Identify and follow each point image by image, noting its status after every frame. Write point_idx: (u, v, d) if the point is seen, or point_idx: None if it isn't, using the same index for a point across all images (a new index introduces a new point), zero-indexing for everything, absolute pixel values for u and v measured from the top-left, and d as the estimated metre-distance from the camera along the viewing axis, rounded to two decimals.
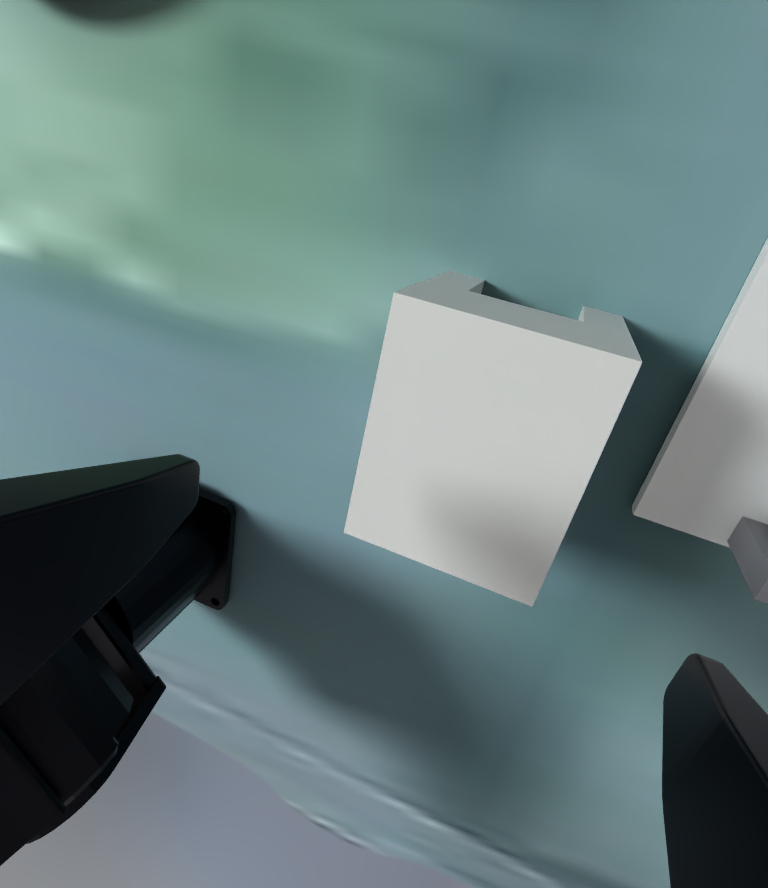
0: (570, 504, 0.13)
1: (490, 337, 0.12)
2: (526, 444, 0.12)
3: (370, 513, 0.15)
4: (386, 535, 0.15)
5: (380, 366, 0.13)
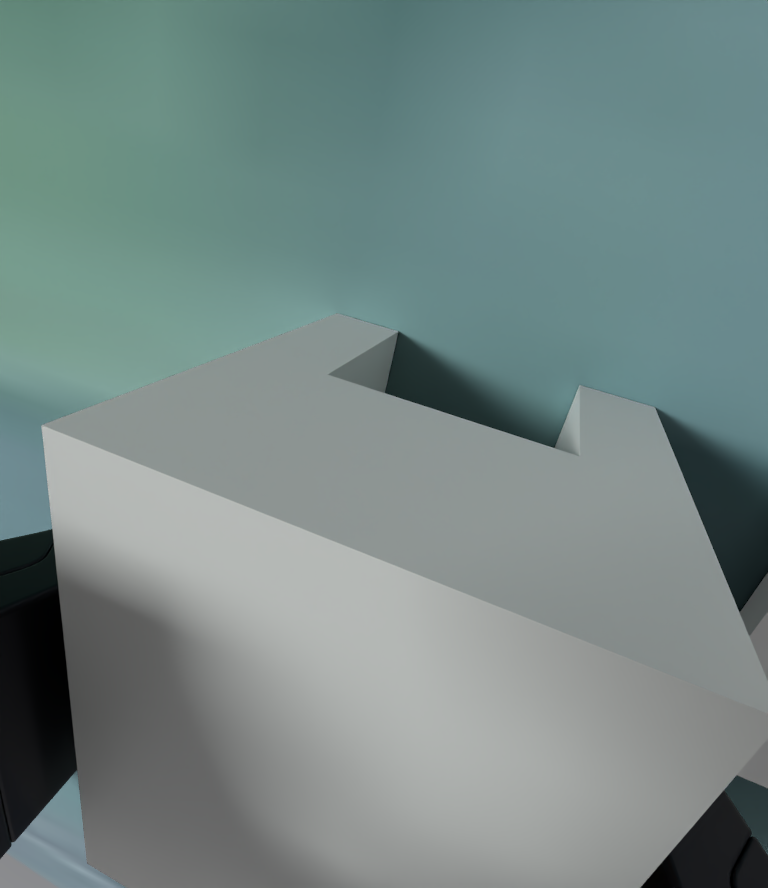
0: None
1: (298, 572, 0.04)
2: (424, 827, 0.05)
3: (123, 850, 0.07)
4: None
5: (64, 591, 0.05)
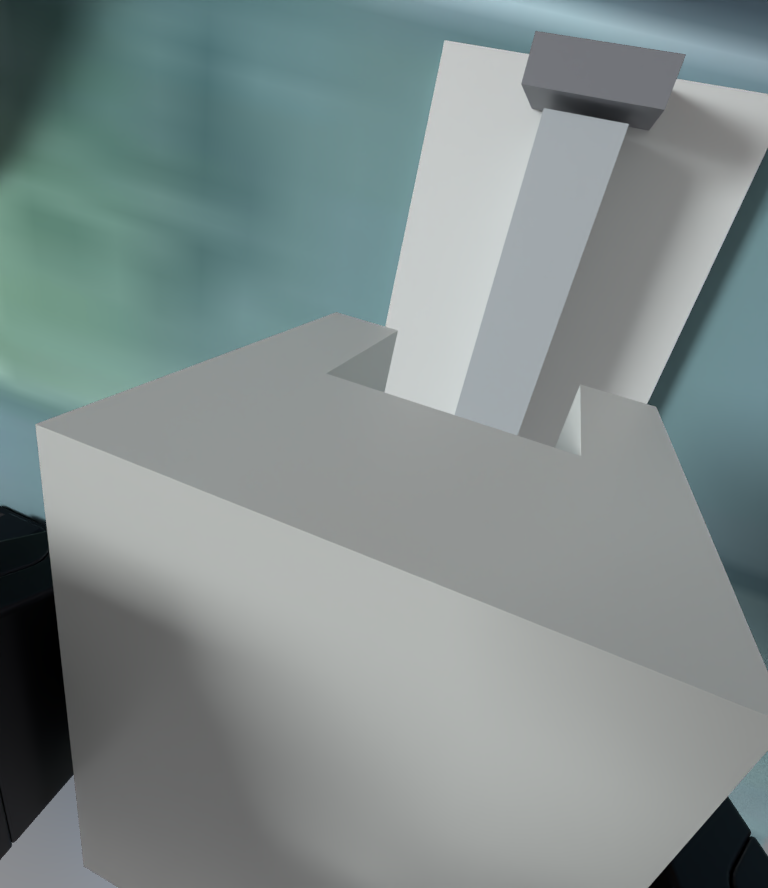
0: None
1: (296, 573, 0.04)
2: (424, 832, 0.05)
3: (120, 853, 0.07)
4: None
5: (59, 593, 0.05)
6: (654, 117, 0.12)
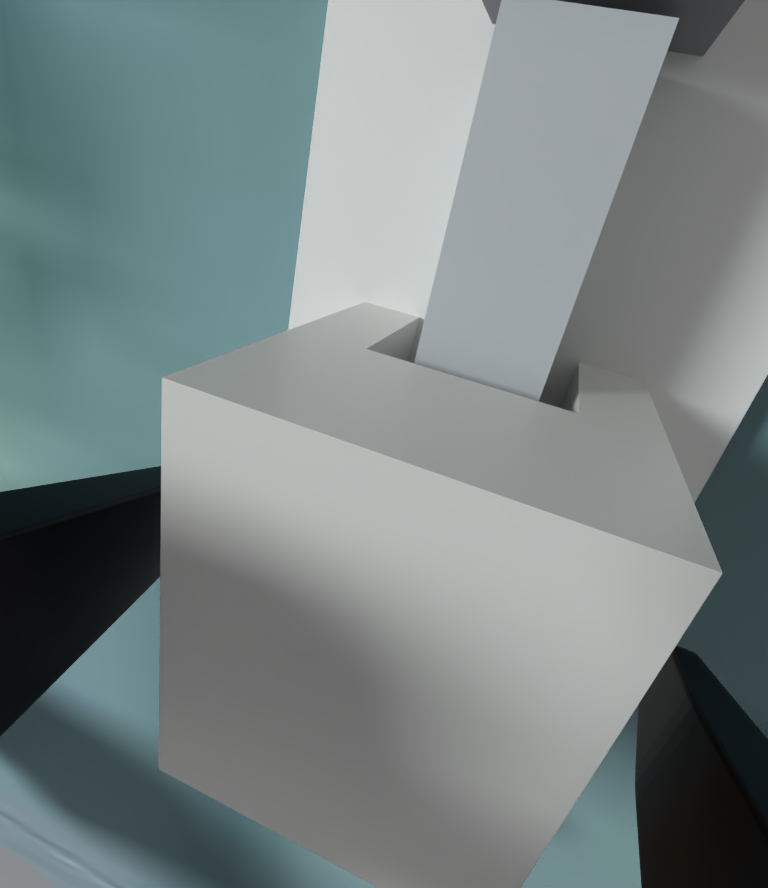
0: (551, 810, 0.06)
1: (363, 485, 0.05)
2: (456, 695, 0.06)
3: (193, 751, 0.08)
4: (224, 787, 0.08)
5: (164, 517, 0.06)
6: (729, 8, 0.06)
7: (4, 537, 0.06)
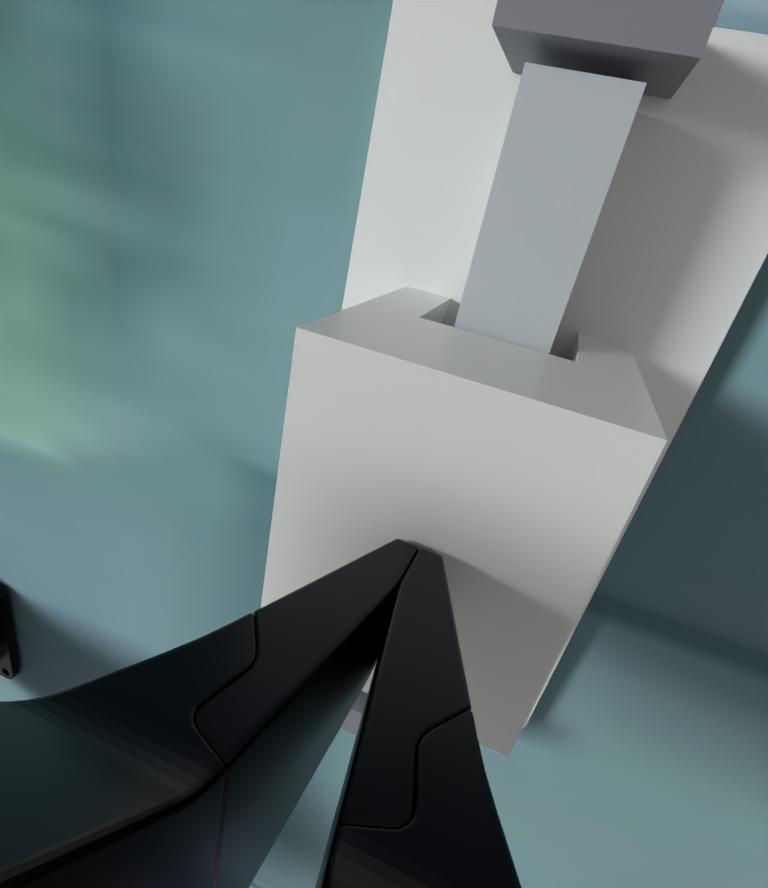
0: (558, 631, 0.09)
1: (435, 396, 0.08)
2: (493, 547, 0.08)
3: None
4: None
5: (286, 430, 0.09)
6: (682, 74, 0.09)
7: (306, 677, 0.05)
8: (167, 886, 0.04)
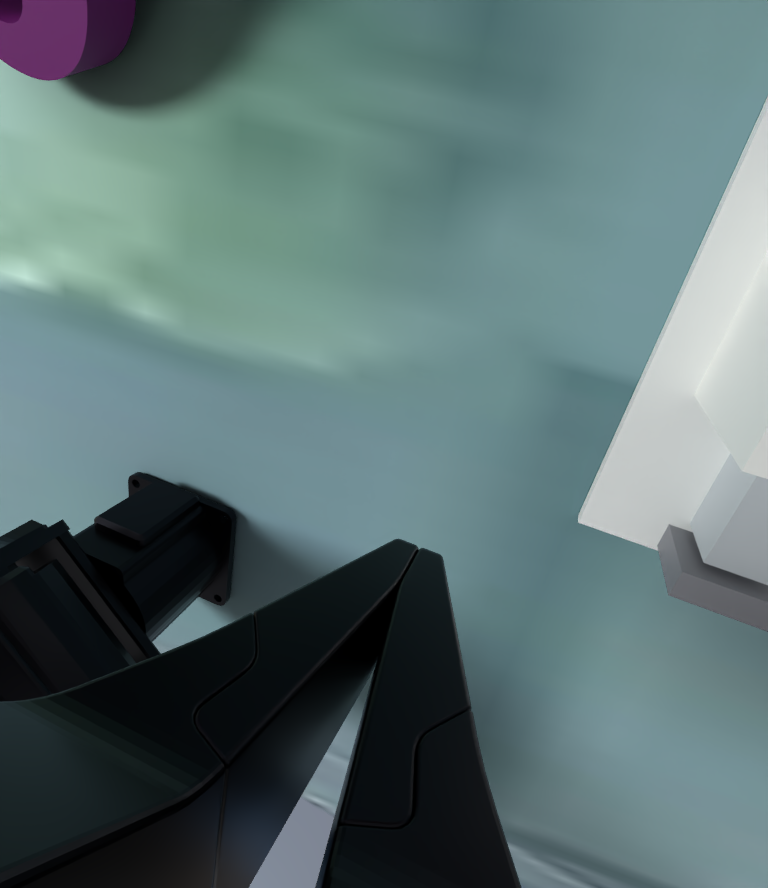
0: None
1: None
2: None
3: None
4: None
5: None
6: None
7: (306, 677, 0.05)
8: (167, 885, 0.04)
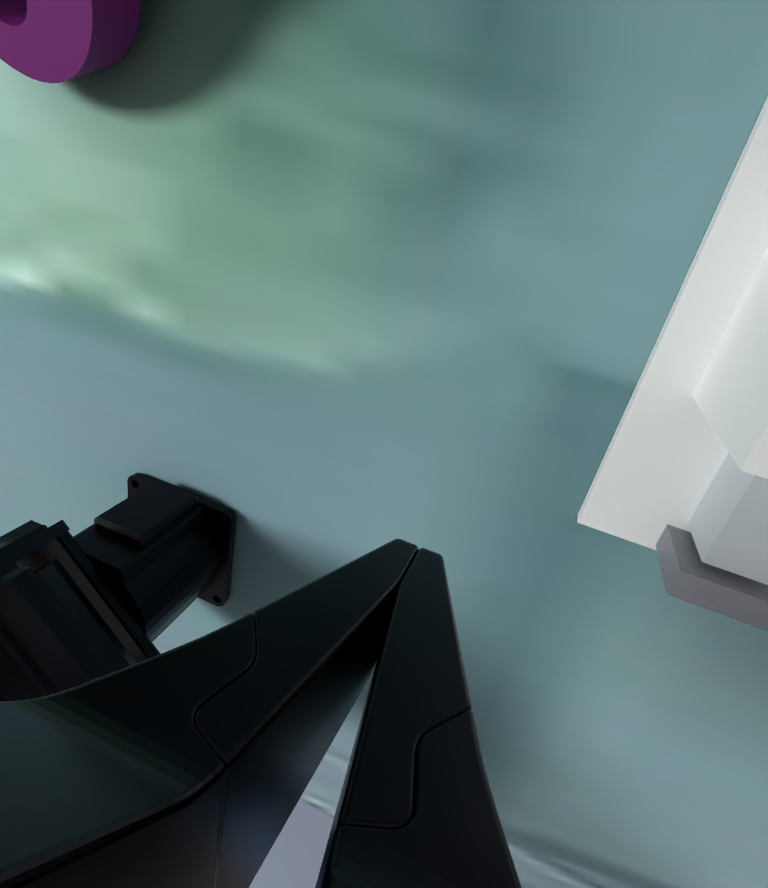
0: None
1: None
2: None
3: None
4: None
5: None
6: None
7: (306, 677, 0.05)
8: (168, 886, 0.04)
